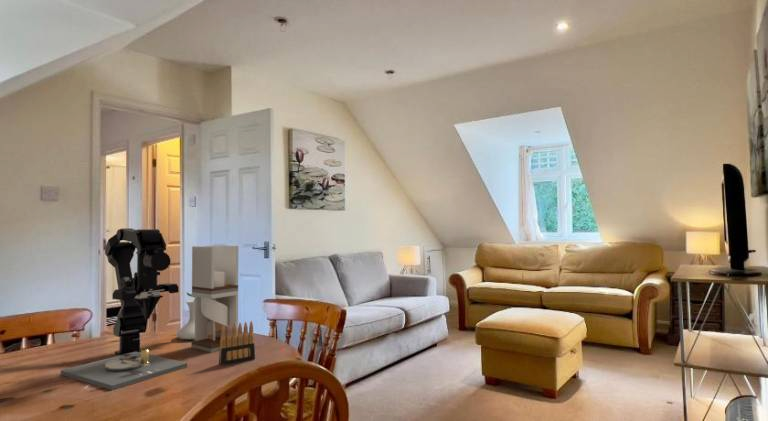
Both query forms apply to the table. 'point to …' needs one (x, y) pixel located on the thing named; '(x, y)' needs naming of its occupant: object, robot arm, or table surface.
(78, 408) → the table surface
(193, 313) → the flower in vase
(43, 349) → the table surface
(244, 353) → the ammunition clip
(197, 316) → the display case
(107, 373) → the stand base
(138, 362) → the disc crank with handle
